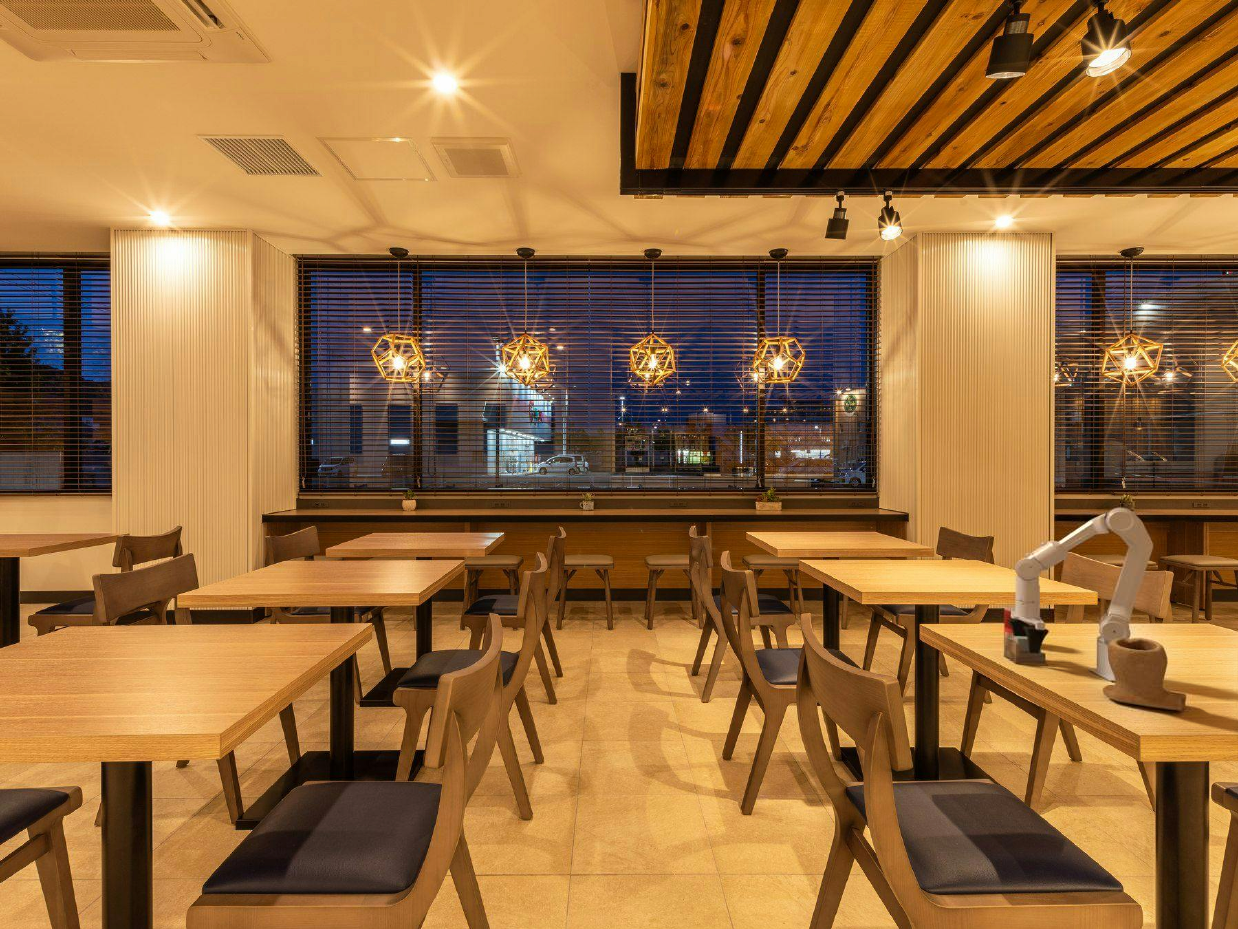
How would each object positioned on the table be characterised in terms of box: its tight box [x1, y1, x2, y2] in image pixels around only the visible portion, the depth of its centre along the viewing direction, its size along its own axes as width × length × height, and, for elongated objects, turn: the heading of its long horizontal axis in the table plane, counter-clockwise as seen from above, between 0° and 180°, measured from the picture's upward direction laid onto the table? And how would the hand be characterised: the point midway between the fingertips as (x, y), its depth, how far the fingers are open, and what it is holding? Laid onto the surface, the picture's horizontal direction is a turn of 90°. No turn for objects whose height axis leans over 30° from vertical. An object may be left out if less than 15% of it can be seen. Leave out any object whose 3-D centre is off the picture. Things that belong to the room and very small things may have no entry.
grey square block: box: [1013, 636, 1042, 653], centre depth 172 cm, size 2×6×6 cm, turn 81°
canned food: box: [1003, 605, 1031, 640], centre depth 189 cm, size 8×8×11 cm
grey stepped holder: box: [1003, 636, 1048, 666], centre depth 172 cm, size 7×8×6 cm
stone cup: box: [1102, 637, 1187, 712], centre depth 140 cm, size 15×12×15 cm
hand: (1027, 648), depth 172 cm, fingers open, 7 cm apart
